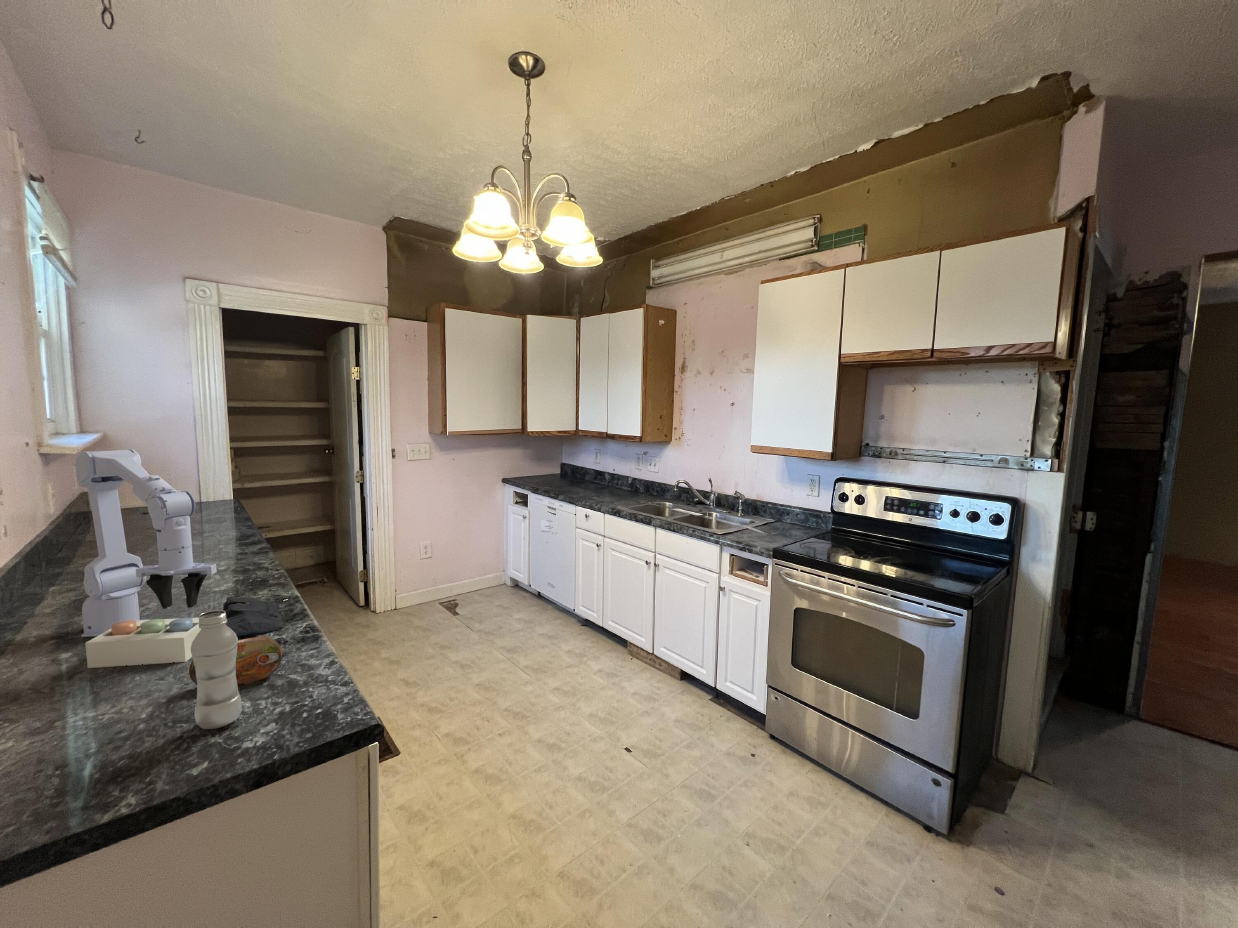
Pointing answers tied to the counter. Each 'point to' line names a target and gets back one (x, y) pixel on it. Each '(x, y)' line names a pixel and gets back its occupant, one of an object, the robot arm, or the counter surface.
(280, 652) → the tin
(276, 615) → the black fabric pouch
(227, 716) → the plastic bottle
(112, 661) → the button console
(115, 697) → the counter surface
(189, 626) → the slate blue button
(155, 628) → the sage green button
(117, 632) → the terracotta button
